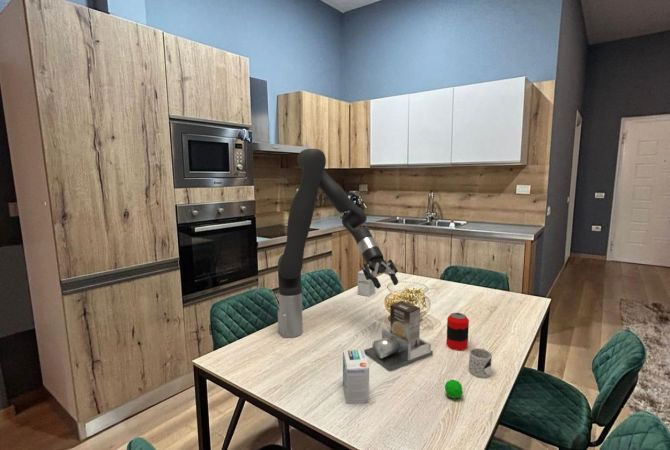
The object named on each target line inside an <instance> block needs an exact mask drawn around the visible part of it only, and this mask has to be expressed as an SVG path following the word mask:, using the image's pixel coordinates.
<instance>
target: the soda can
mask: <svg viewBox="0 0 670 450" xmlns="http://www.w3.org/2000/svg"><path fill="white" fill-rule="evenodd" d="M446 319H447V321H446V322H447V323H446V341H445V342H446V347H448V348H449V349H451V350H454V351H466V350H467V348H468V347H469V346H468V344H469V328H470V327H469V324H470V320H469V318H468V317H467V315H465V314H463V313H462V312H452V313H450V314H449V315H448V316H447V318H446Z"/></svg>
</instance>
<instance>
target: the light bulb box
mask: <svg viewBox="0 0 670 450" xmlns="http://www.w3.org/2000/svg"><path fill="white" fill-rule="evenodd" d="M364 350H365V349H358V350H356V349H355V350H343V351H342V386H343V392H344V398H345V403H346V404H361V403H362V404H363V403H365V404H366V403H367V404H368V403H369V400H370V398H369V396H370V395H369V393H370V365H369V362H368V360H367V355H366V354H365V353H364Z"/></svg>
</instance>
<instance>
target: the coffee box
mask: <svg viewBox="0 0 670 450" xmlns="http://www.w3.org/2000/svg"><path fill="white" fill-rule="evenodd" d="M389 314H390V327H389V328H390V330H389V331H390V332H391V333H393V334H395V335H397V336H399V337H400V338H402V339H404V340H406V341H407V342H409V343H411V347H410V350H411V349H414V348H416V347H419V338H420V332H421V331H420V330H421V327H420V325H421V307H418V306H416V305H414V304H411V303H409V302H406V301H404V300H399V301H397V302H395V303H392V304H390V313H389Z"/></svg>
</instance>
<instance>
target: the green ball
mask: <svg viewBox="0 0 670 450" xmlns="http://www.w3.org/2000/svg"><path fill="white" fill-rule="evenodd" d="M444 389H445V391H444V392H445V394H446V395H447V396H448V397H449V398H451V399H454V400H455V399H458V398H461V397H462V395H463V393H464V392H463V386H462V384H461V383H460V381H458V380H455V379H450V380H448V381H447V382H445V384H444Z"/></svg>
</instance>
